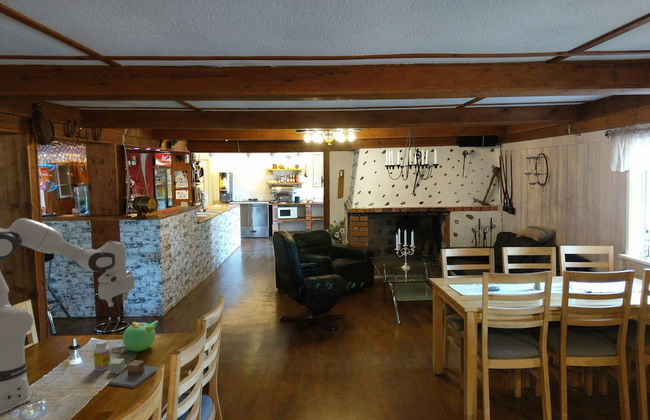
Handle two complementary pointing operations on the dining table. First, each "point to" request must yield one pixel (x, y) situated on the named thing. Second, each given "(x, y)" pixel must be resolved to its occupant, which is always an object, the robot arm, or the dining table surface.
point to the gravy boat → (139, 336)
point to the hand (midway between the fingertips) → (118, 303)
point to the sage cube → (117, 366)
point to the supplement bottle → (101, 356)
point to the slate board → (133, 378)
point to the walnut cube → (135, 368)
